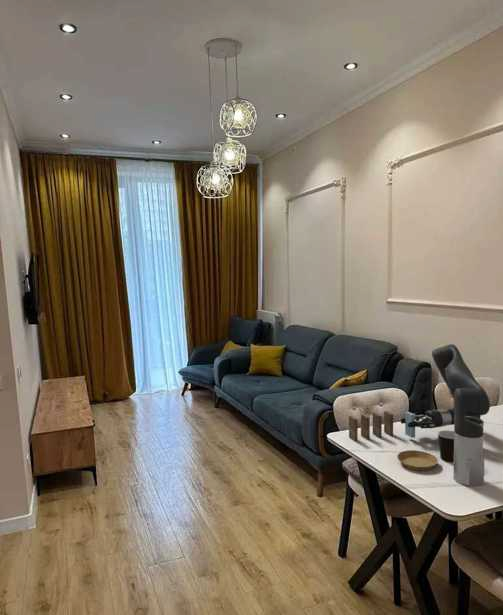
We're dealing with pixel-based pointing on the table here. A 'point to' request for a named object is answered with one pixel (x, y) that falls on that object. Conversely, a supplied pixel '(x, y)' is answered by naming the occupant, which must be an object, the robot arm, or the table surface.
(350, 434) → the domino
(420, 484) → the table surface
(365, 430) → the domino
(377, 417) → the domino
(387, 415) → the domino
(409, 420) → the domino
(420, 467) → the plant saucer
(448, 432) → the coffee mug
